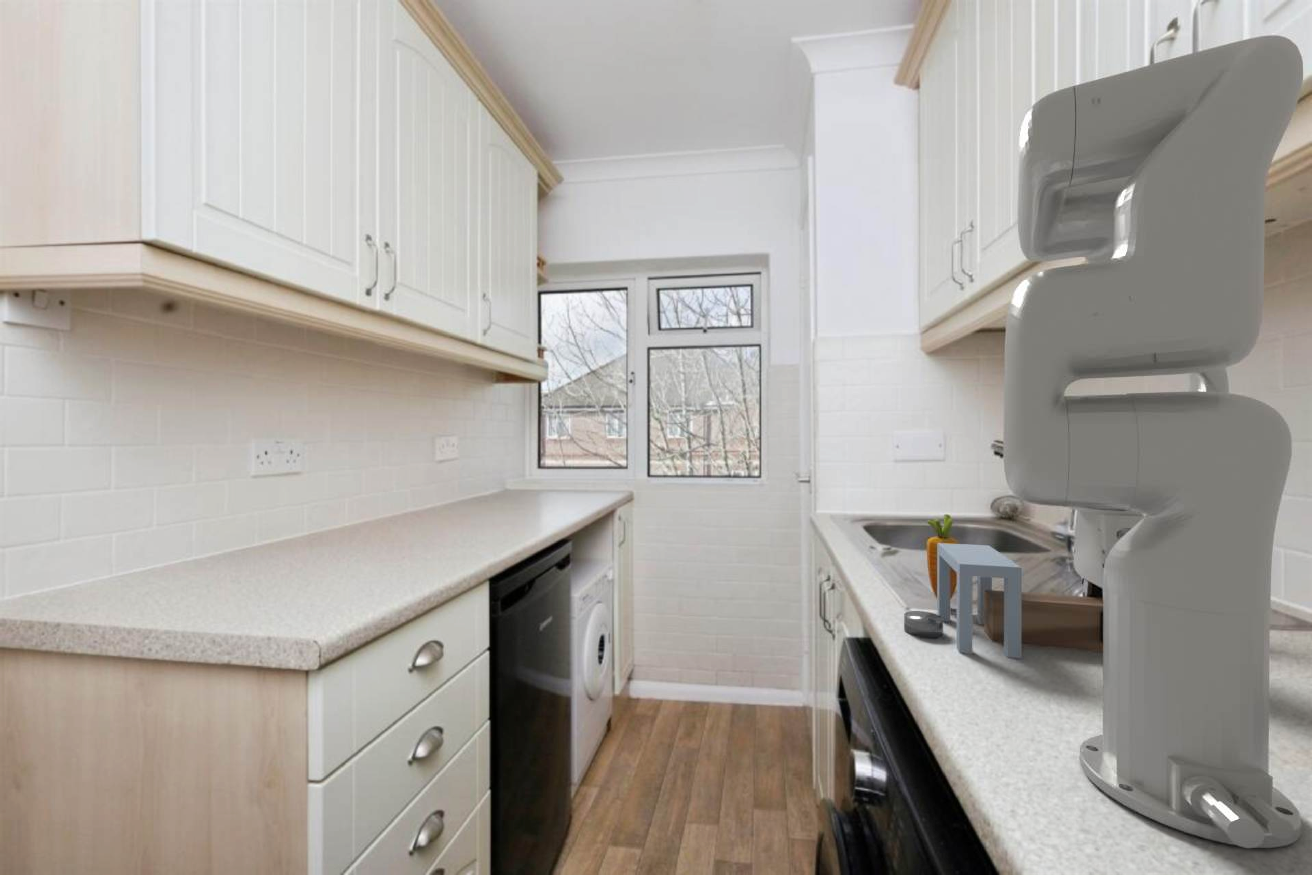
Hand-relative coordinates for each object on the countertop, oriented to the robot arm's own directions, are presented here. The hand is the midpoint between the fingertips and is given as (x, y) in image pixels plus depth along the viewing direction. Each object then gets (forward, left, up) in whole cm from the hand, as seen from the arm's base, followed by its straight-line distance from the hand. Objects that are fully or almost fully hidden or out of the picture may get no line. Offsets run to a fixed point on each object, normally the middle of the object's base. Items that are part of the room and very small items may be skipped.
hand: (1106, 636), depth 73 cm
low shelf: (0, +16, -1) cm, 16 cm away
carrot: (+13, +17, -2) cm, 21 cm away
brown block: (0, +5, -1) cm, 5 cm away
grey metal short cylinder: (-1, +22, -2) cm, 22 cm away
